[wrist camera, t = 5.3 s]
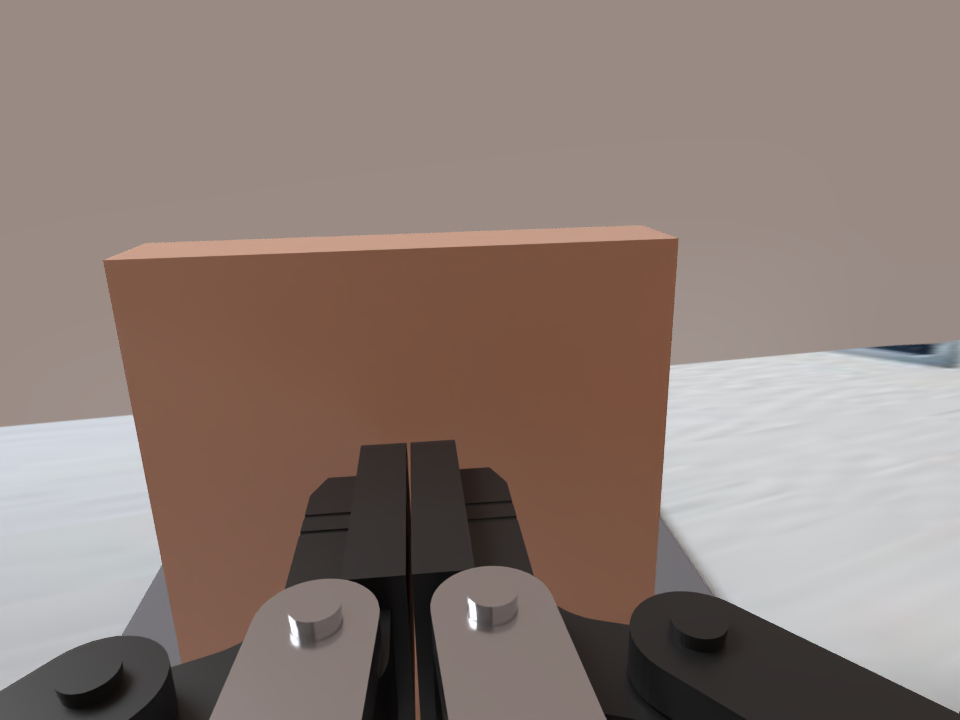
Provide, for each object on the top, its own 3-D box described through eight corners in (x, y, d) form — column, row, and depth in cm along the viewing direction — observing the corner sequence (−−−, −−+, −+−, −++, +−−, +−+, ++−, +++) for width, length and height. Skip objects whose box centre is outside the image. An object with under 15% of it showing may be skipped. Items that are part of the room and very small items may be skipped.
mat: (-31, 938, 13) (-40, 916, 13) (215, 486, 30) (213, 474, 30) (852, 828, 15) (856, 808, 15) (612, 459, 32) (613, 447, 32)
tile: (207, 795, 15) (102, 260, 11) (231, 718, 17) (148, 241, 13) (643, 749, 16) (678, 238, 12) (617, 680, 18) (640, 224, 14)
